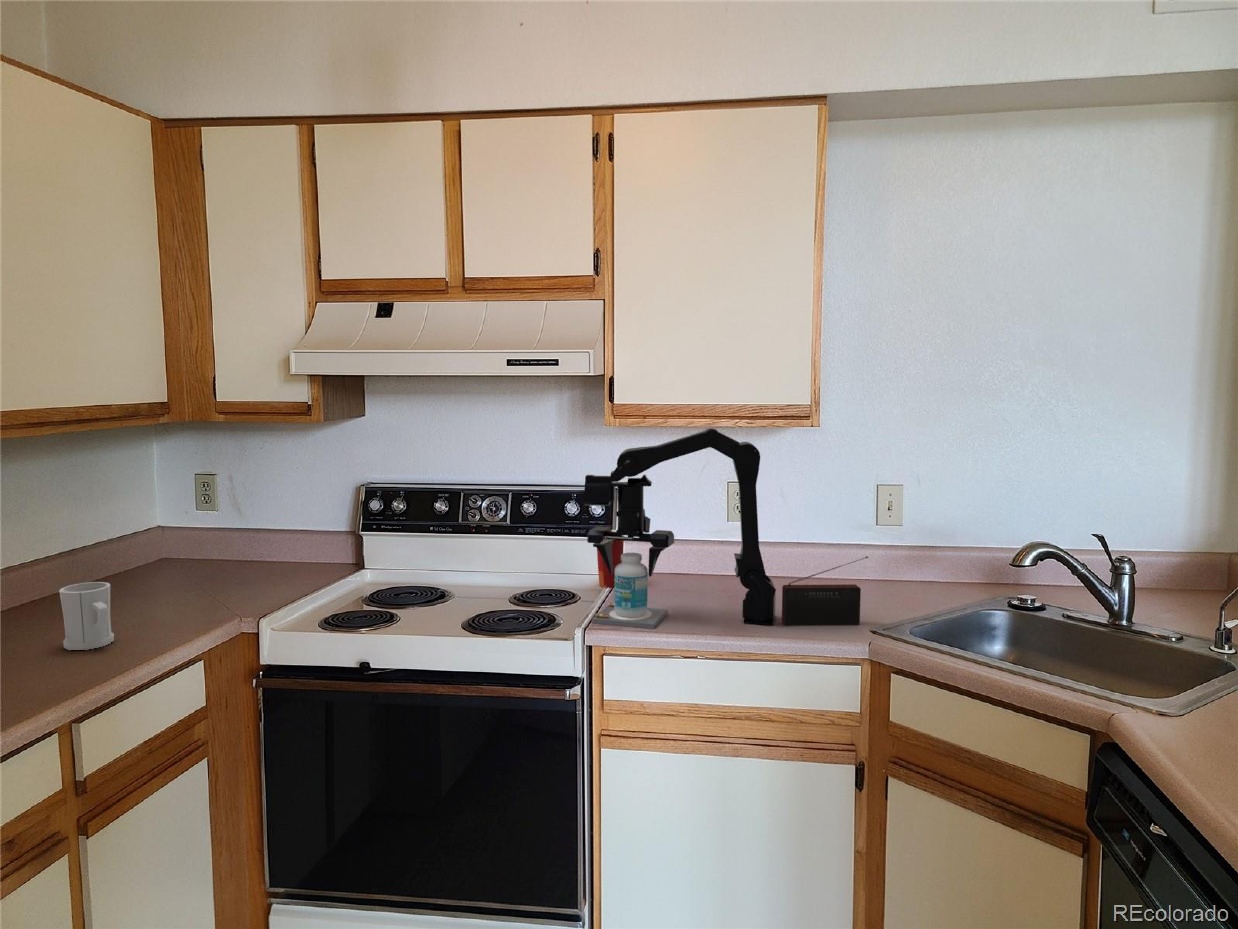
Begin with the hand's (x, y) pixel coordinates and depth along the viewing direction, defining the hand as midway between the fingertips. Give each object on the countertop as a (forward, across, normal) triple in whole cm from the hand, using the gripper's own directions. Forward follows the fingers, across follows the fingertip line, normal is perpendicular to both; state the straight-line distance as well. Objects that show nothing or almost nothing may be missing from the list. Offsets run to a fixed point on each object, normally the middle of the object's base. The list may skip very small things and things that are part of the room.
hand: (630, 574), depth 192 cm
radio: (+10, -42, -9) cm, 44 cm away
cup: (+10, +99, +51) cm, 112 cm away
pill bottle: (+9, 0, 0) cm, 9 cm away
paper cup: (+10, +14, -27) cm, 32 cm away
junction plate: (+10, 0, 0) cm, 10 cm away
